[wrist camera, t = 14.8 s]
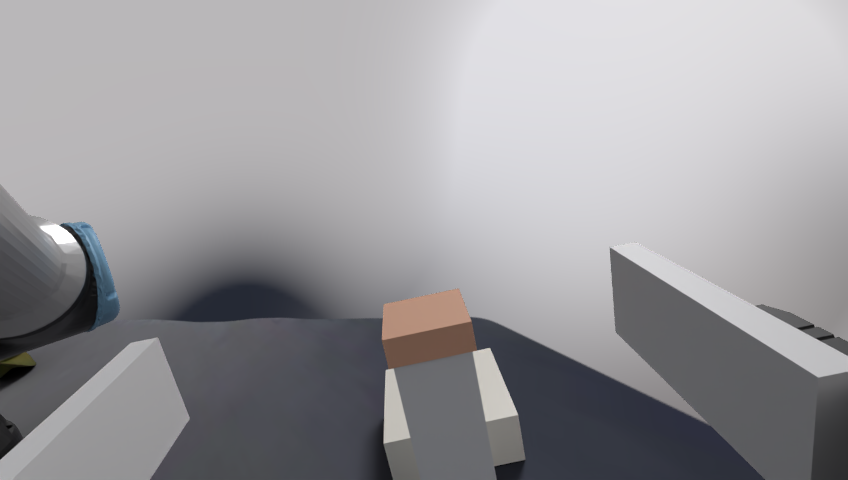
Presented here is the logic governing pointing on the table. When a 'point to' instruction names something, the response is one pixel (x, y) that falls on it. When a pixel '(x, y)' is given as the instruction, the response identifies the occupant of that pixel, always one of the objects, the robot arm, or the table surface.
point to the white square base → (496, 412)
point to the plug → (439, 385)
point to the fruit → (15, 362)
